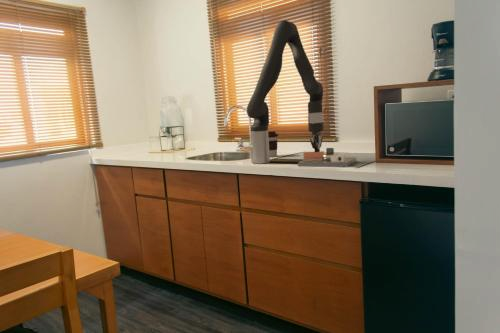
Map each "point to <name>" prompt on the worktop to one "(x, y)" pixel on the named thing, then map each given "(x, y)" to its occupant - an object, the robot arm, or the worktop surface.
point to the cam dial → (320, 154)
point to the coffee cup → (272, 143)
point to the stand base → (329, 161)
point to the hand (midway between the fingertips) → (317, 156)
